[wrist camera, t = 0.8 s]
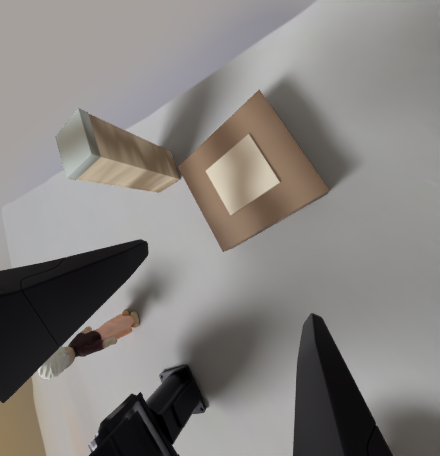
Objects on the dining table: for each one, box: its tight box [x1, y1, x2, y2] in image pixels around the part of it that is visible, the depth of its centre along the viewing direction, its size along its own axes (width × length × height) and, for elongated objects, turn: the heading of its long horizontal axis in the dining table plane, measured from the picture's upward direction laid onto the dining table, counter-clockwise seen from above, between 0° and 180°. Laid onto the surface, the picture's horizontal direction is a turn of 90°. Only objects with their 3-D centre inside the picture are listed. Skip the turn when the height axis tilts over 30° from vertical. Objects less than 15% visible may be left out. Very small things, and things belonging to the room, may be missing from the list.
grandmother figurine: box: [38, 310, 139, 379], centre depth 27 cm, size 8×4×13 cm, turn 108°
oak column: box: [56, 108, 180, 193], centre depth 23 cm, size 5×5×12 cm
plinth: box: [178, 90, 329, 252], centre depth 21 cm, size 12×12×3 cm
